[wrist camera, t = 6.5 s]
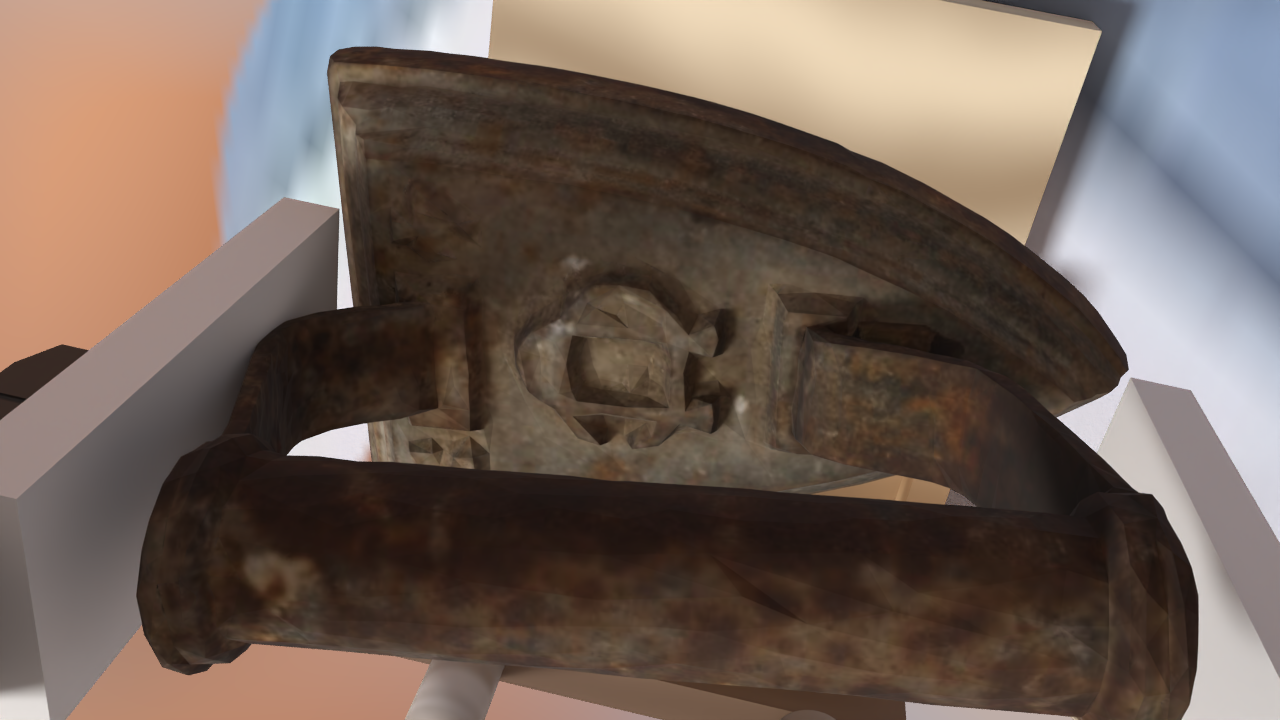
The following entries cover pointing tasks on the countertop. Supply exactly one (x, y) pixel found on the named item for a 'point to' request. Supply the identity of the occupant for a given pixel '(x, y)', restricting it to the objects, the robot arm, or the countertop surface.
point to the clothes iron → (672, 421)
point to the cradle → (840, 112)
